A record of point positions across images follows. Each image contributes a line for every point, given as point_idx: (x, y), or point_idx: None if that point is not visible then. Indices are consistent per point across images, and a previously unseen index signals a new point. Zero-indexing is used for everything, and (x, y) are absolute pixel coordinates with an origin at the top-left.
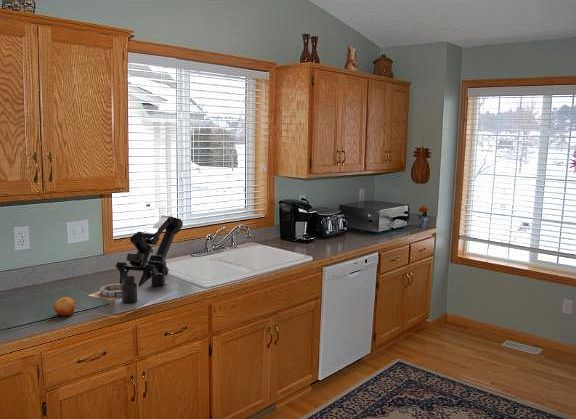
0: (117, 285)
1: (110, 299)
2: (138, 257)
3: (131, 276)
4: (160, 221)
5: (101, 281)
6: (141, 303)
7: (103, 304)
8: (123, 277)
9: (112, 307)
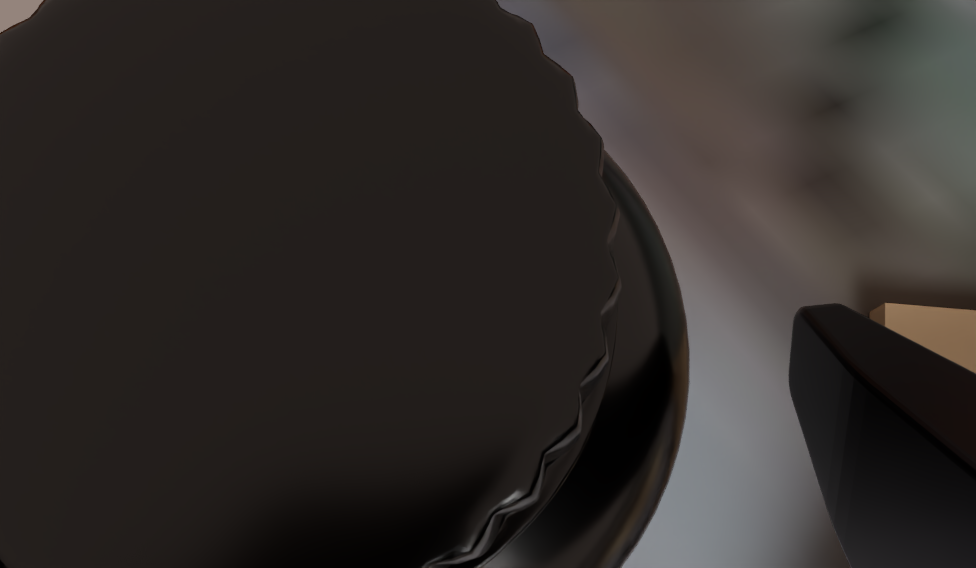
0: None
1: (940, 343)
2: None
3: (160, 479)
4: None
5: None
6: None
7: (897, 129)
8: (564, 74)
9: (604, 69)
